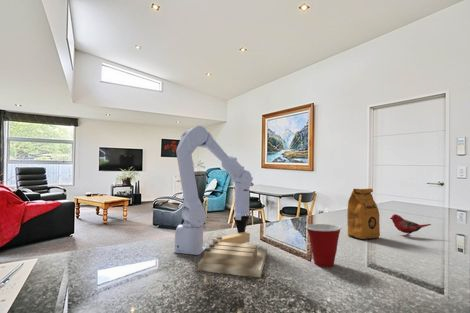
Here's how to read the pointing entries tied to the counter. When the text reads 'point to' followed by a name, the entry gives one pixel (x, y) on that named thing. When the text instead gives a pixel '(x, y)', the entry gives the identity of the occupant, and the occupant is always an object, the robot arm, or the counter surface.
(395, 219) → the decorative bird figurine
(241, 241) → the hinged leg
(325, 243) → the plastic cup
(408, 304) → the counter surface
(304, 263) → the counter surface
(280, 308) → the counter surface
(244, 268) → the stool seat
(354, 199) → the coffee package
